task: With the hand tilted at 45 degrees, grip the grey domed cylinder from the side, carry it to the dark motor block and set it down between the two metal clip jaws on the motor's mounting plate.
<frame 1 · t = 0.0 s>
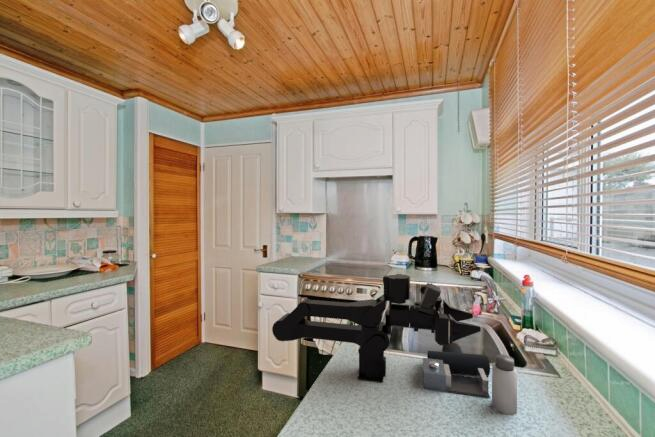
hand: (476, 322, 75), 17 cm above the counter, tool horizontal, fingers open, 9 cm apart
grey domed cylinder: (504, 407, 68), on the counter
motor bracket: (464, 385, 77), on the counter
pipe connector: (454, 366, 88), on the counter
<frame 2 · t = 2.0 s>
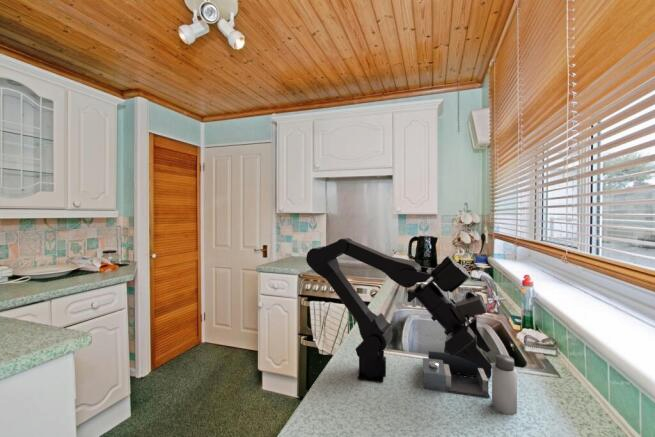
hand: (489, 359, 69), 10 cm above the counter, tool tilted 45°, fingers open, 9 cm apart
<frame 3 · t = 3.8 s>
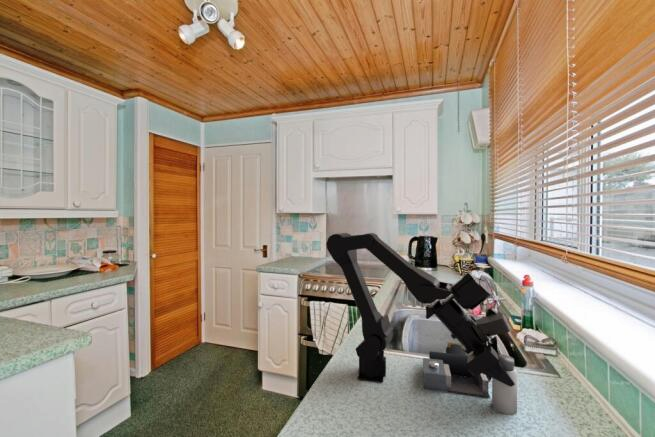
hand: (511, 379, 68), 7 cm above the counter, tool tilted 45°, fingers closed on grey domed cylinder, 5 cm apart
grey domed cylinder: (504, 407, 68), on the counter, touching gripper
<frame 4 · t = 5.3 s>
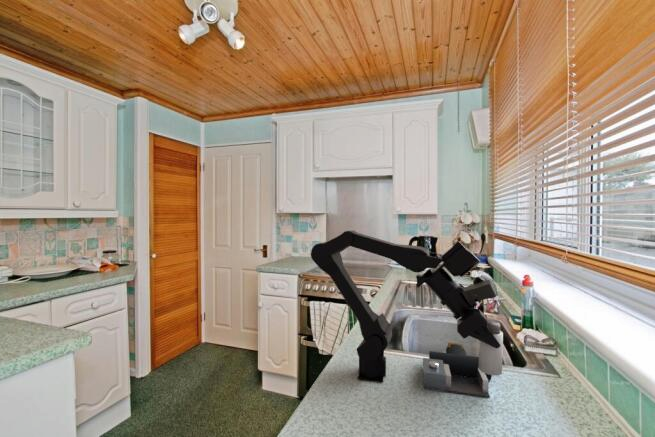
hand: (497, 342, 71), 13 cm above the counter, tool tilted 45°, fingers closed on grey domed cylinder, 5 cm apart
grey domed cylinder: (490, 369, 71), point 7 cm above the counter, touching gripper
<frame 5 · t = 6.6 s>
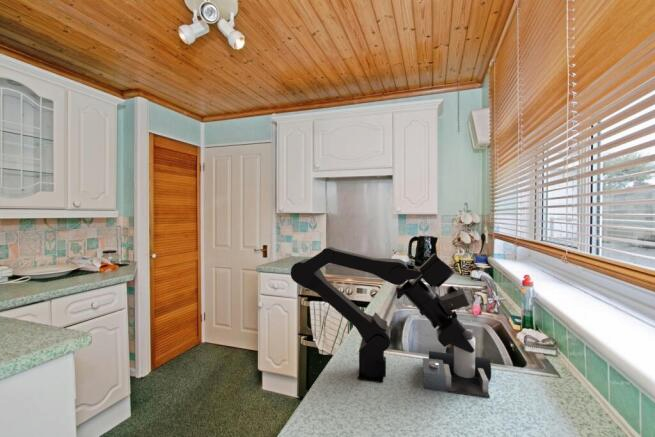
hand: (470, 347, 77), 10 cm above the counter, tool tilted 45°, fingers closed on grey domed cylinder, 5 cm apart
grey domed cylinder: (464, 372, 77), point 3 cm above the counter, touching gripper
when the fingers open (8 cm above the counter, at t = 7.3 s): grey domed cylinder drops 1 cm, resting on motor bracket.
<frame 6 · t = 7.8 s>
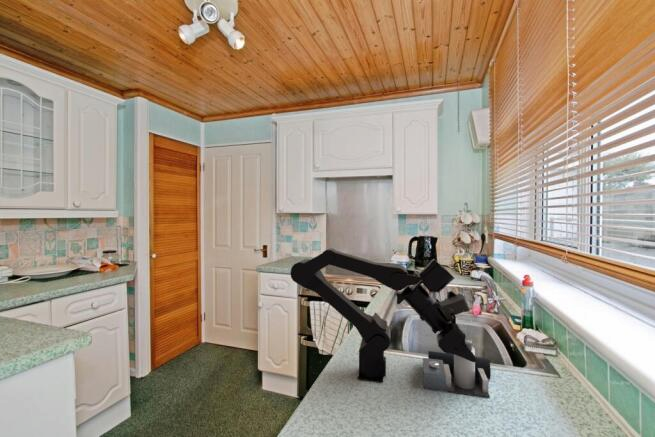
hand: (470, 352, 77), 9 cm above the counter, tool tilted 45°, fingers open, 9 cm apart
grey domed cylinder: (464, 383, 77), point 1 cm above the counter, touching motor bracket
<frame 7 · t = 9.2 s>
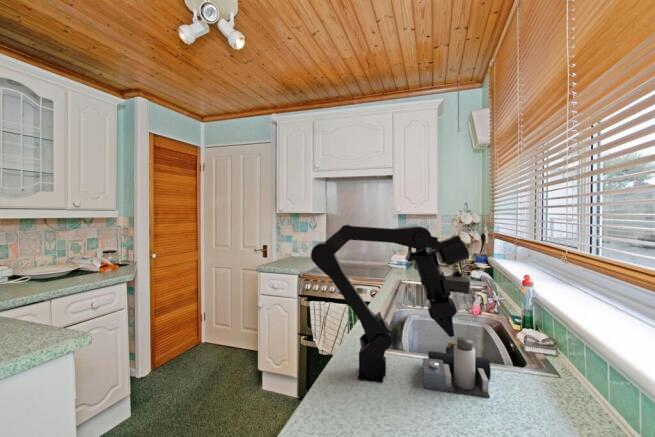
hand: (449, 328, 81), 13 cm above the counter, tool tilted 20°, fingers open, 9 cm apart
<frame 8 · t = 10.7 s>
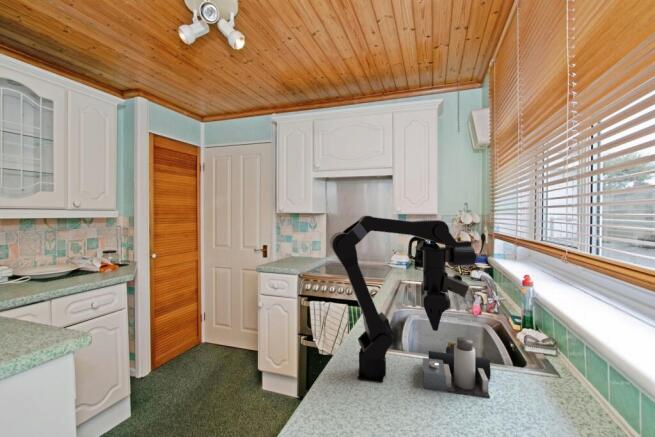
hand: (433, 324, 83), 13 cm above the counter, tool pointing down, fingers open, 9 cm apart
at the end: grey domed cylinder 0.1 cm off-centre on the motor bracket, point 0.5 cm above the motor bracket's base; grey domed cylinder tilted 0°; the gripper is holding nothing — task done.
